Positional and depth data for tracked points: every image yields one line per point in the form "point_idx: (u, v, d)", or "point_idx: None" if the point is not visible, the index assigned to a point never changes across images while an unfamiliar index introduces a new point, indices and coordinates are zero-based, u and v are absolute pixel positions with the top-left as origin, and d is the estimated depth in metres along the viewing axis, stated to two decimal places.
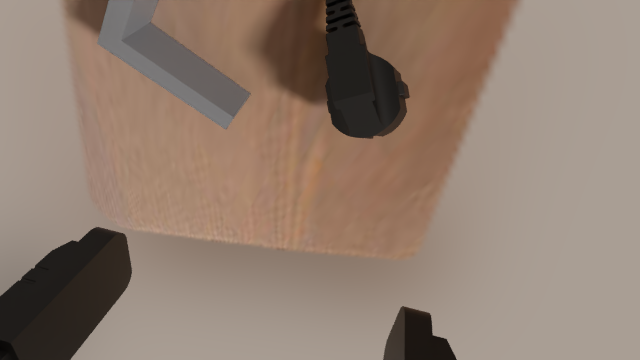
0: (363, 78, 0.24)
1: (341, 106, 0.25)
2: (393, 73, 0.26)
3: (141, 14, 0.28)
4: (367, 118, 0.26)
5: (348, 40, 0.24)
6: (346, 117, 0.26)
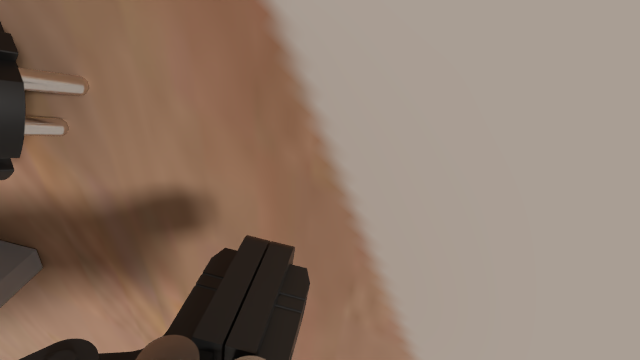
0: None
1: None
2: None
3: None
4: None
5: None
6: None
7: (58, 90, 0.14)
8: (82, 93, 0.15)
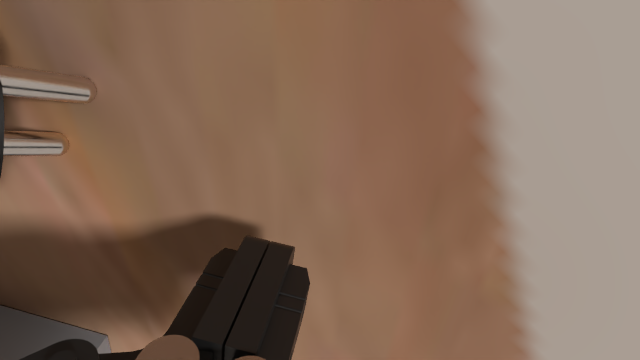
0: None
1: None
2: None
3: None
4: None
5: None
6: None
7: (55, 96, 0.11)
8: (87, 100, 0.11)
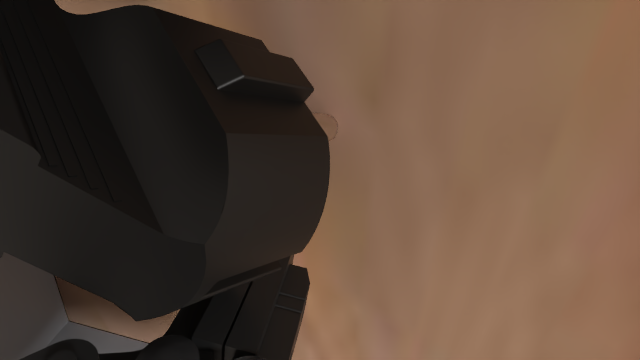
0: None
1: None
2: (161, 27, 0.06)
3: (25, 338, 0.16)
4: (110, 241, 0.06)
5: None
6: (55, 269, 0.06)
7: None
8: (331, 139, 0.10)
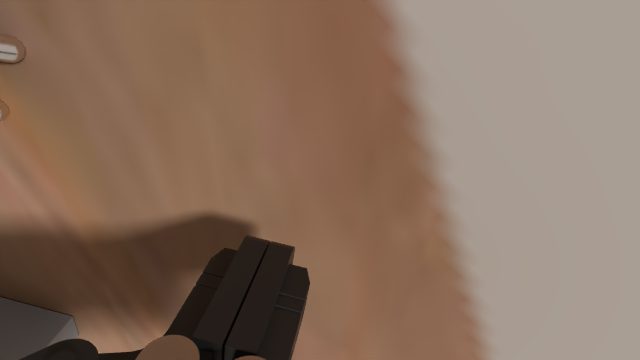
0: None
1: None
2: None
3: None
4: None
5: None
6: None
7: None
8: (15, 59, 0.11)
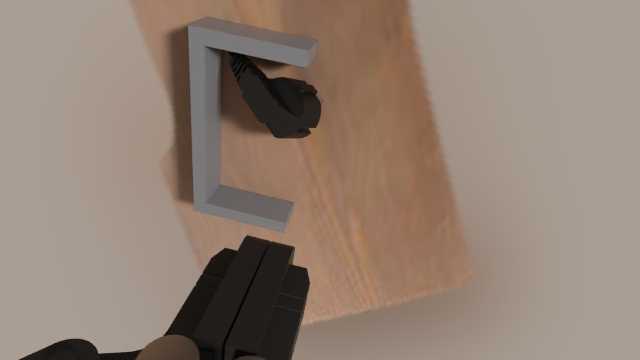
0: (264, 94, 0.34)
1: (264, 119, 0.35)
2: (289, 81, 0.35)
3: (213, 183, 0.45)
4: (284, 117, 0.35)
5: (248, 78, 0.35)
6: (272, 125, 0.35)
7: None
8: None
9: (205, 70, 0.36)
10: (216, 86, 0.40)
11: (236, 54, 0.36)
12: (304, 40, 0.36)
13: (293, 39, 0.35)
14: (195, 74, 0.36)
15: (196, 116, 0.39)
